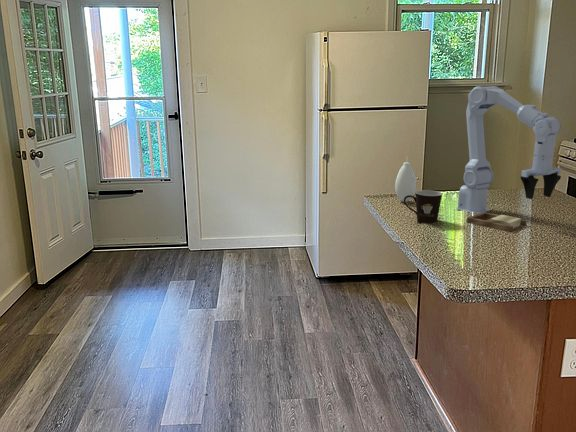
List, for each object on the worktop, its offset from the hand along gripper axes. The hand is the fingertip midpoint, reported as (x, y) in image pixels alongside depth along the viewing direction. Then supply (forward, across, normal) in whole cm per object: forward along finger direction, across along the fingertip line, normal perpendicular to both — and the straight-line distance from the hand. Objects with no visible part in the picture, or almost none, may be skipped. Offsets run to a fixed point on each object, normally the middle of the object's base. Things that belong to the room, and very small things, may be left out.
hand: (538, 197), depth 175 cm
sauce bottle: (+10, -21, +44) cm, 50 cm away
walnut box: (+10, -12, +4) cm, 16 cm away
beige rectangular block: (+9, -11, +2) cm, 14 cm away
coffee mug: (+10, -31, +18) cm, 37 cm away
